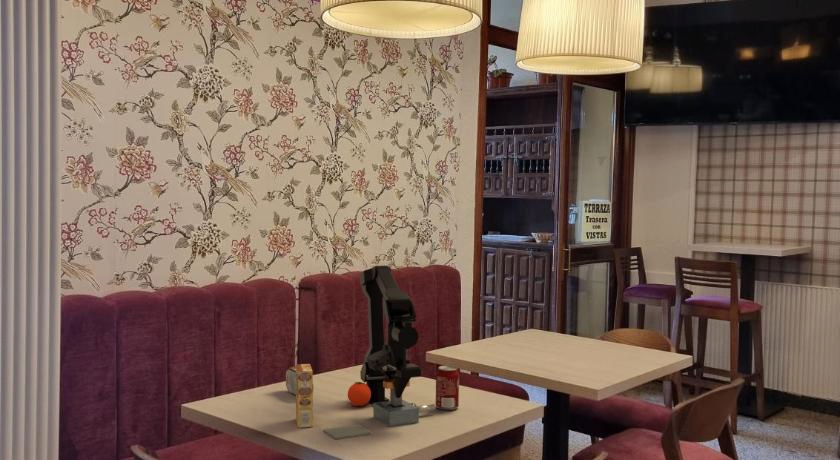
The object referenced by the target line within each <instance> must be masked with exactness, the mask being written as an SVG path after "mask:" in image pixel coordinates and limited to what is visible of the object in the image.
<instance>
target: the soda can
mask: <svg viewBox="0 0 840 460" xmlns="http://www.w3.org/2000/svg"><path fill="white" fill-rule="evenodd" d="M459 394H460V373H459V371H458V367H456V366H453V365H440V366H438V370H437V371H436V374H435V408H438V410H442V411H453V410H456V409H458V408H459V403H460V401H459V398H460V397H459V396H460V395H459Z"/></svg>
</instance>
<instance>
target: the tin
mask: <svg viewBox="0 0 840 460" xmlns="http://www.w3.org/2000/svg"><path fill="white" fill-rule="evenodd" d="M284 375H285V386H286V389H287V391H288V392H289V393H290V394H291V395H293V396H295V397H296V365H295V366H291V367H288V368H287V369H285V373H284Z"/></svg>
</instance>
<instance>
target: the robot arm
mask: <svg viewBox="0 0 840 460" xmlns="http://www.w3.org/2000/svg"><path fill="white" fill-rule="evenodd" d="M359 285H360V286H361V291H362V293H363V294H364V295H363V296H364V297H365V298H366V299H367V317H368V320H367V321H368V345H369V346H368V347H369V348H368V349H367V351H366V353H365V355H364V361H363V363H362V366H361V368H360V372H359V373H360V380H361V382H362V383H365V384H366V385H368V387H369V388H370V390H371V398H370V400H369V402H368V403H369V404H374V403H377V402H385V401H390V398H388V397H386V388H384V387H383V381H384V380H393V379H394V380H395V390H396V397H397V398H400V397H401V395H402V396H403V393H404V391H405V389H406V388H407V387H406V385H407V383H408V382H409V380H411V378H420V377H422V376H423V369H422V368H421V367H420V366H419V365H418V364H417V365H416V364H414V363H411V359H410V358H408V350H409V349H411V348H412V347H414V346H415V345H416V344H417V343H418V341H419V332H418V331H417V329H416V328H415V327H413V326H412V324H413V323H415V322H416V321H417V320H416V318H417V314H416V313H417V312H416V310H415V306H414V303H413V301H412V299H411V297H410V296H409V295H408V293H407V292H406V291H403V290H401V289H400V287H399V286H398V284H397V281H396V279H395V278H394V276H393V274H392V269H391V266H389V265H387V264H386V265H374V266H372V267H371V268H368V269H364V270H363V271H362V272H361V273H360V275H359ZM384 317H385V318H384ZM384 319H385V320H386V342H385V327H384V326H385V325H384Z"/></svg>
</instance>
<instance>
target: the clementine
mask: <svg viewBox="0 0 840 460" xmlns="http://www.w3.org/2000/svg"><path fill="white" fill-rule="evenodd" d="M370 398H371V390H370V388H369V387H368V385H366V382H363V381H355V382H354V383H353V384H351V385H350V387H349V388H348V391H347V399H348V401H349V402H350V404H352V405H353V406H356V407H362V406H366V405H367V404H368V403H369V400H370Z"/></svg>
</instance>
